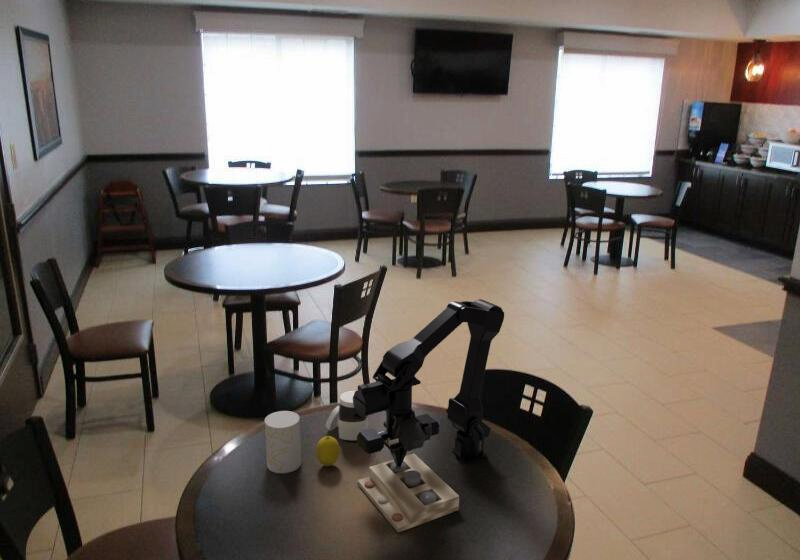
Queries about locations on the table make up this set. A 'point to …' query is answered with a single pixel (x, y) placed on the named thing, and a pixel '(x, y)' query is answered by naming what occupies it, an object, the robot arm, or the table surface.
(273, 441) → the white cylinder
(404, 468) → the button
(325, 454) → the lemon
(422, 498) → the button
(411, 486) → the button middle
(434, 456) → the table surface
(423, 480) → the button board
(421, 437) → the robot arm
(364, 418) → the spread jar
